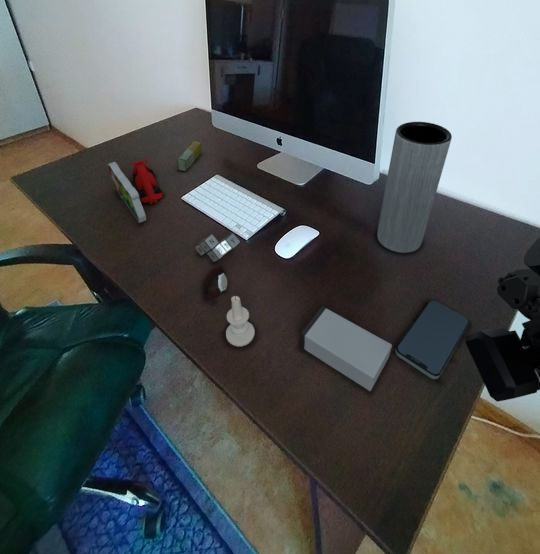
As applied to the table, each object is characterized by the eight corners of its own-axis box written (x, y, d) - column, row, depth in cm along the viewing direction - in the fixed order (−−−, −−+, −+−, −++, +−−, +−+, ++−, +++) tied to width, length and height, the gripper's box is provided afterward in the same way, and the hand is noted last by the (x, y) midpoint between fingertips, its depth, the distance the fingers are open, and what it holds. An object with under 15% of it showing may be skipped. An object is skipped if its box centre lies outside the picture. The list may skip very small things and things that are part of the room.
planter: (412, 223, 90) (438, 119, 74) (428, 252, 82) (462, 142, 66) (371, 226, 90) (389, 122, 74) (384, 255, 82) (406, 145, 66)
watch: (222, 303, 73) (219, 291, 71) (199, 301, 73) (196, 289, 71) (231, 274, 79) (229, 262, 77) (209, 272, 79) (207, 260, 77)
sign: (148, 224, 94) (138, 191, 88) (141, 226, 93) (131, 194, 87) (120, 186, 108) (110, 156, 102) (114, 188, 108) (104, 158, 102)
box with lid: (392, 344, 60) (322, 305, 67) (373, 378, 55) (300, 333, 62) (388, 358, 62) (321, 319, 69) (370, 391, 58) (300, 346, 65)
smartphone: (472, 319, 66) (438, 378, 57) (469, 325, 67) (435, 384, 58) (431, 297, 71) (393, 349, 62) (428, 302, 72) (391, 355, 63)
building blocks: (208, 265, 84) (225, 256, 78) (193, 246, 83) (209, 236, 77) (223, 251, 87) (240, 242, 81) (209, 233, 87) (225, 223, 81)
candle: (238, 317, 70) (233, 279, 64) (260, 330, 67) (257, 293, 61) (220, 337, 67) (212, 299, 60) (242, 352, 64) (236, 314, 58)
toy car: (143, 207, 99) (138, 192, 96) (132, 177, 112) (128, 162, 109) (165, 201, 101) (161, 186, 98) (152, 172, 114) (148, 157, 111)
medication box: (186, 171, 114) (185, 160, 111) (178, 170, 114) (176, 159, 112) (201, 152, 123) (201, 142, 120) (194, 151, 123) (193, 140, 121)
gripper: (615, 252, 42) (503, 302, 53) (501, 257, 34) (401, 313, 46) (694, 355, 36) (548, 386, 48) (577, 386, 29) (440, 413, 40)
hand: (485, 370), depth 46 cm, fingers closed
